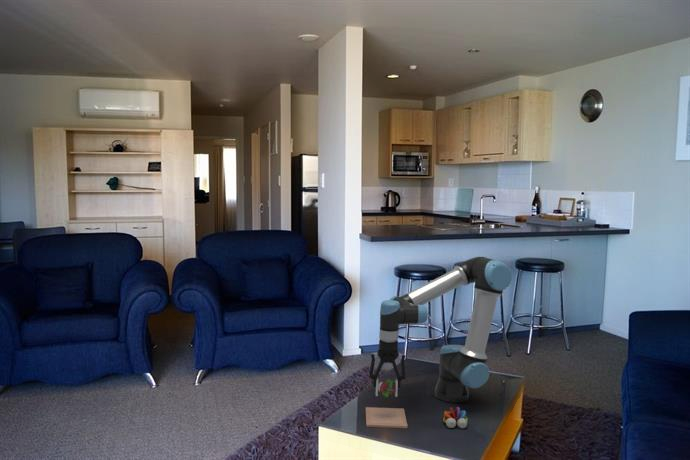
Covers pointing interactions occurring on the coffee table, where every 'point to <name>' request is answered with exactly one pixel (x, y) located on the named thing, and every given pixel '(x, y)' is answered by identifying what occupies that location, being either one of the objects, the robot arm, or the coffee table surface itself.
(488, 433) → the coffee table surface
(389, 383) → the geometric puzzle
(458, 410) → the colourful small pieces
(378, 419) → the tile
